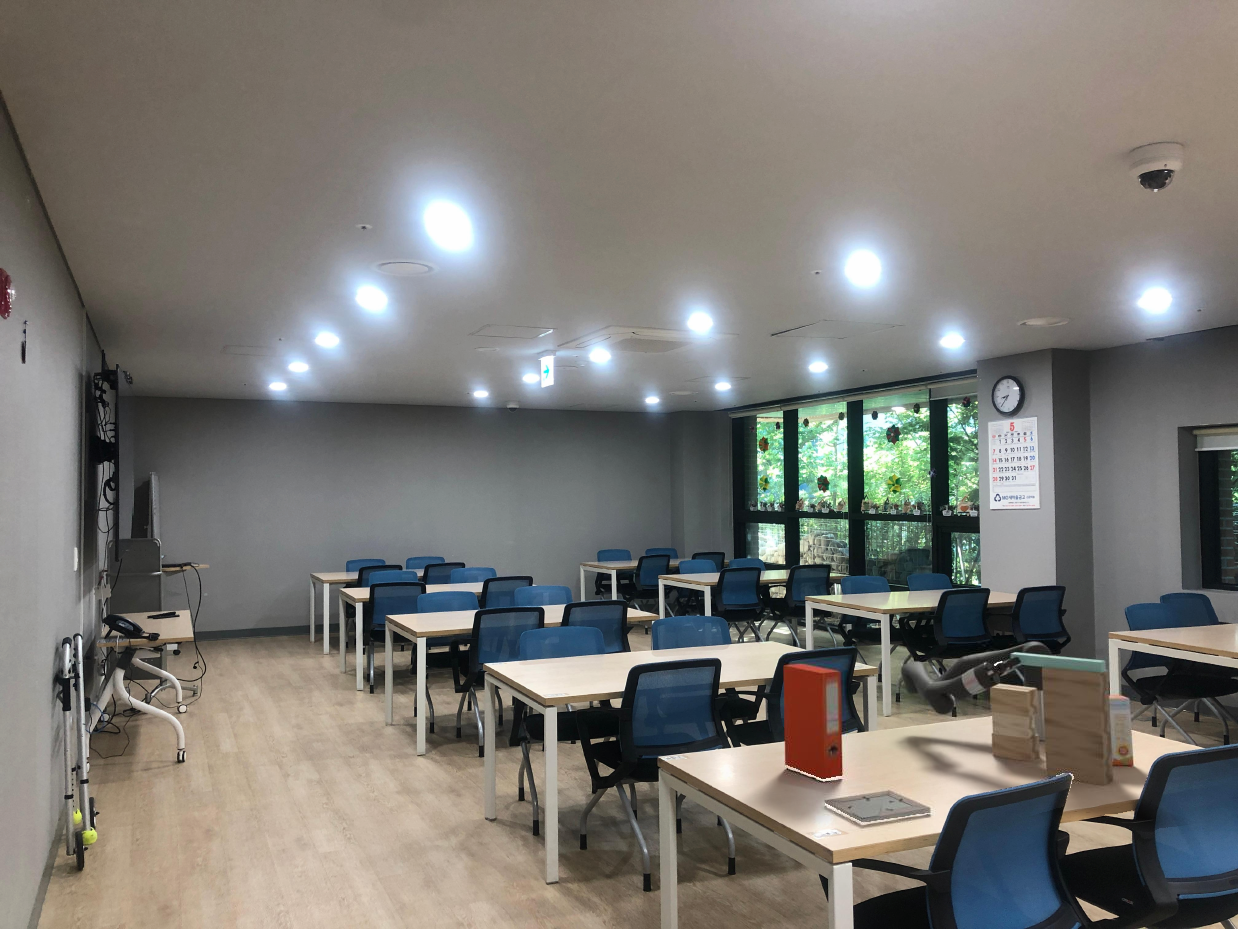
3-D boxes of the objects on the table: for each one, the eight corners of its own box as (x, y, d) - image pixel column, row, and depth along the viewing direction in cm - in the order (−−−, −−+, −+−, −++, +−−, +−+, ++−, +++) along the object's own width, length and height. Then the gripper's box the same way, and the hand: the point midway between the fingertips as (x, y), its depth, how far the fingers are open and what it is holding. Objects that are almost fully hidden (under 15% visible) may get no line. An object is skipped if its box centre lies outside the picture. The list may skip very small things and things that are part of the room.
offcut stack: (1002, 750, 295) (999, 683, 296) (1039, 757, 286) (1036, 688, 288) (992, 755, 289) (989, 687, 290) (1030, 762, 280) (1027, 691, 282)
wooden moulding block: (1055, 769, 271) (1051, 664, 273) (1113, 780, 260) (1107, 670, 262) (1046, 775, 266) (1041, 667, 268) (1104, 786, 254) (1099, 673, 257)
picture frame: (862, 828, 224) (930, 816, 231) (862, 818, 224) (930, 807, 232) (824, 808, 239) (889, 798, 247) (824, 799, 239) (889, 789, 247)
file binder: (805, 765, 279) (802, 663, 281) (843, 779, 264) (840, 671, 266) (785, 769, 275) (782, 665, 278) (822, 783, 260) (820, 673, 262)
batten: (1015, 662, 279) (1015, 652, 279) (1105, 671, 261) (1105, 660, 261) (1010, 663, 276) (1010, 653, 276) (1101, 672, 258) (1101, 662, 258)
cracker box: (1125, 761, 280) (1121, 694, 281) (1134, 766, 274) (1130, 698, 275) (1079, 760, 281) (1076, 694, 283) (1087, 765, 275) (1084, 697, 277)
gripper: (995, 686, 288) (1039, 666, 279) (977, 692, 278) (1022, 671, 269) (983, 665, 291) (1026, 644, 282) (965, 670, 281) (1009, 649, 272)
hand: (1024, 657), depth 275 cm, fingers open, 8 cm apart
